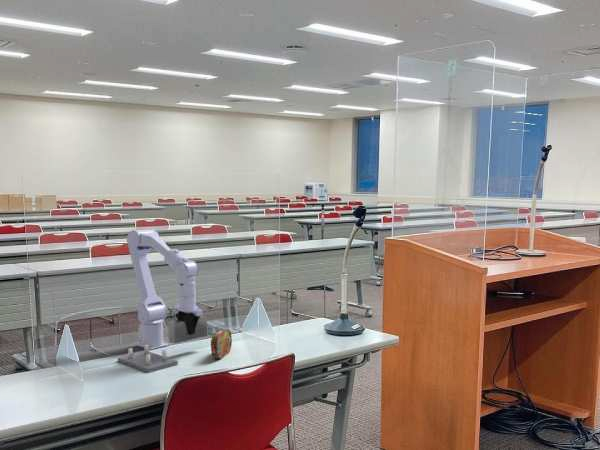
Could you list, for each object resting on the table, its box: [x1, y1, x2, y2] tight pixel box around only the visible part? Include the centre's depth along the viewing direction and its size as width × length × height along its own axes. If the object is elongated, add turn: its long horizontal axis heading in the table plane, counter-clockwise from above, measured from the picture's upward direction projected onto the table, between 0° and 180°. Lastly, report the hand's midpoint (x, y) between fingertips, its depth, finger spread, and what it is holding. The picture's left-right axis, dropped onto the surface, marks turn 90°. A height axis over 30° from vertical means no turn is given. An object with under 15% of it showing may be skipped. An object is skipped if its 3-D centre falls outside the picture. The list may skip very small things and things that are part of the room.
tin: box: [210, 328, 233, 360], centre depth 187 cm, size 15×3×8 cm, turn 168°
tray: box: [117, 345, 178, 374], centre depth 179 cm, size 19×11×4 cm, turn 48°
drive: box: [167, 315, 208, 344], centre depth 189 cm, size 4×14×7 cm, turn 138°
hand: (188, 333), depth 189 cm, fingers closed on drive, 3 cm apart
